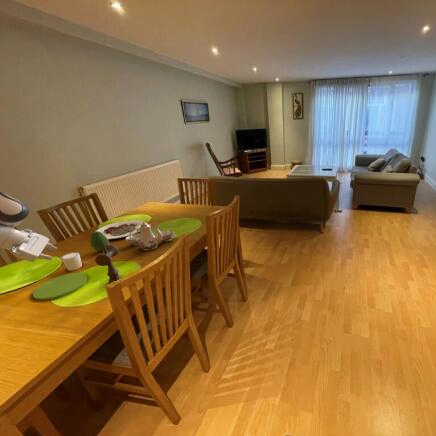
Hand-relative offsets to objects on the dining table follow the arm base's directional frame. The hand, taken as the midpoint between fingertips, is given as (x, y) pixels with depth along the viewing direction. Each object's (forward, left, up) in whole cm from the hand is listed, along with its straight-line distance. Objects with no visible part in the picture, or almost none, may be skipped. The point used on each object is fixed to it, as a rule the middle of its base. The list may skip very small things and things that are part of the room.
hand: (54, 254), depth 116 cm
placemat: (-2, -17, -9) cm, 20 cm away
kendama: (+15, -31, -9) cm, 36 cm away
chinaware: (+40, -6, -9) cm, 42 cm away
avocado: (+19, +8, -9) cm, 22 cm away
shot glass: (+5, -2, -9) cm, 11 cm away
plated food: (+35, +30, -9) cm, 47 cm away
